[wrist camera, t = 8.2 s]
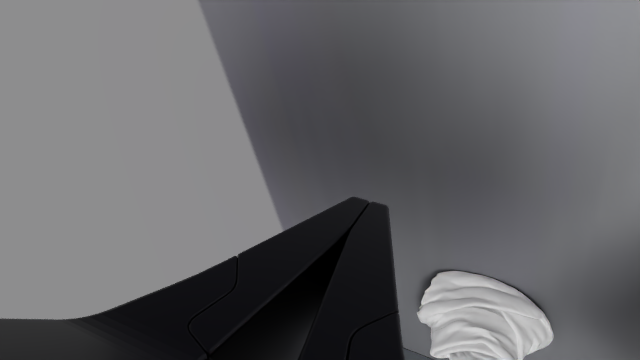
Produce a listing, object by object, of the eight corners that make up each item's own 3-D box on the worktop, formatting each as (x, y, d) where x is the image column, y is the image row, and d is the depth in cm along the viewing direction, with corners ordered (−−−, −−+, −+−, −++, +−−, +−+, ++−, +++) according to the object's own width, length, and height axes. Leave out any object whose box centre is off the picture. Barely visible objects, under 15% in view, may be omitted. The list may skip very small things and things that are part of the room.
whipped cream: (559, 279, 24) (576, 341, 20) (537, 358, 27) (547, 425, 23) (423, 256, 26) (413, 307, 22) (416, 330, 29) (406, 386, 25)
